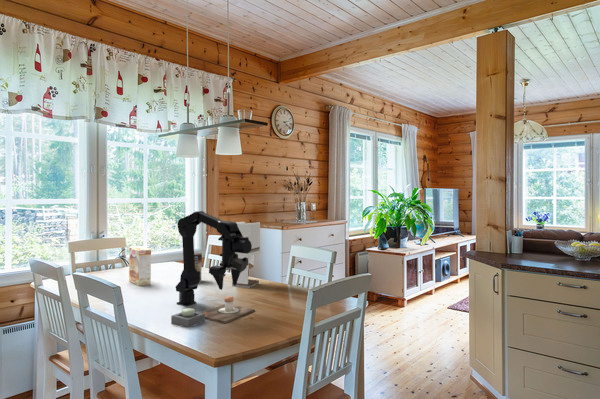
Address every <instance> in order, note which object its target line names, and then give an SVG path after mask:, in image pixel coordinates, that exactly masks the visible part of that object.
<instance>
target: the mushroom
mask: <svg viewBox="0 0 600 399" xmlns="http://www.w3.org/2000/svg"><path fill="white" fill-rule="evenodd" d="M234 299H235V298H234V296H230V295H229V296H224V304H225V311H233V305H234Z"/></svg>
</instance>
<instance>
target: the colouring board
mask: <svg viewBox="0 0 600 399" xmlns="http://www.w3.org/2000/svg"><path fill="white" fill-rule="evenodd" d="M253 311H254V312H256V309H255V308H251V307H247V306H241V305H235V304H233V311H225V303H223V304H220V305H219V306H216V307H211V308H209V309H207V310H204V311H201V312H200V313H203V314H205V320H208V319H209V321H214V322H218V323H222V324H227V323H229V322H232V321H234V320H236V319H239V318H242V317H245V316H246V315H248V314H251V313H253Z"/></svg>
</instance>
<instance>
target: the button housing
mask: <svg viewBox="0 0 600 399" xmlns="http://www.w3.org/2000/svg"><path fill="white" fill-rule="evenodd" d="M170 319H171V320H170V322H171V324H173V325H177V326H180V327H185V328H190V327H194V326H195V325H198V324H201V323H204V322H205V320H206V319H205V314H203V313H201V312H197V311H195V315H194V316H190V317H184V316H182V311H181V312H178V313H175V314H173V315H171V316H170Z"/></svg>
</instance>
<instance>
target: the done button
mask: <svg viewBox="0 0 600 399" xmlns="http://www.w3.org/2000/svg"><path fill="white" fill-rule="evenodd" d="M181 312H182V316H184V317H190V316H194V315H195V312H196V311H195V309H194V308H183V309H182V310H181Z"/></svg>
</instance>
